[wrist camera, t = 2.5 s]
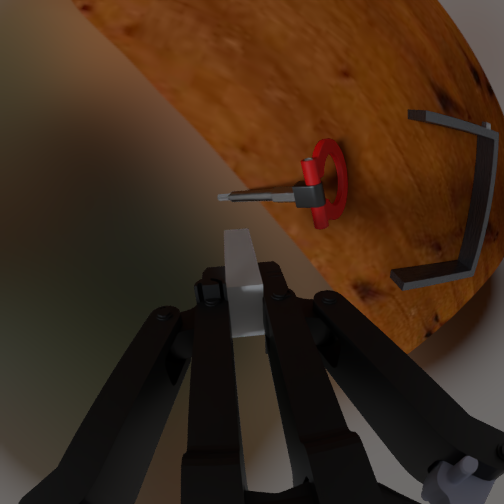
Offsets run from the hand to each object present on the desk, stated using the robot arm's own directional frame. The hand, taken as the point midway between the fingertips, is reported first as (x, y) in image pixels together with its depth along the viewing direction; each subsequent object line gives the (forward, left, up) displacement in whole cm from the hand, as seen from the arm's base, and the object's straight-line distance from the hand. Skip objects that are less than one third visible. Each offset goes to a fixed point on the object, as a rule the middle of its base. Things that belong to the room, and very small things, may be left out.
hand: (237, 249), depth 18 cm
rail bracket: (0, +24, -8) cm, 26 cm away
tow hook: (-3, +7, -11) cm, 14 cm away
